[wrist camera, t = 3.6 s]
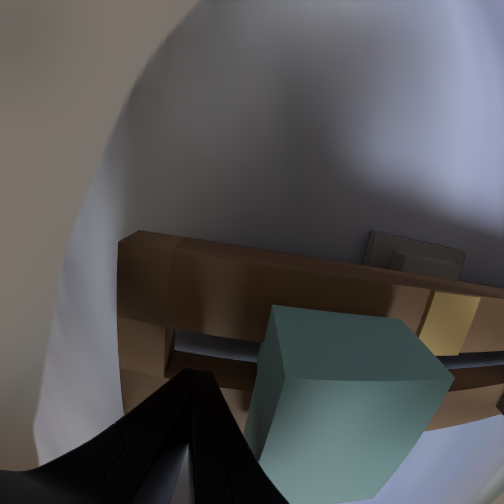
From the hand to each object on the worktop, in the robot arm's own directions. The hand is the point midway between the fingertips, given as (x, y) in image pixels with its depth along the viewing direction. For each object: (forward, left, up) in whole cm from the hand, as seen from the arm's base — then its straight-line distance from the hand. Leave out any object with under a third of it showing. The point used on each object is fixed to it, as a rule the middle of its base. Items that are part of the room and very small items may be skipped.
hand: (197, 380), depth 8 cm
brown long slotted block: (0, -8, -4) cm, 9 cm away
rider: (0, -4, -2) cm, 4 cm away
